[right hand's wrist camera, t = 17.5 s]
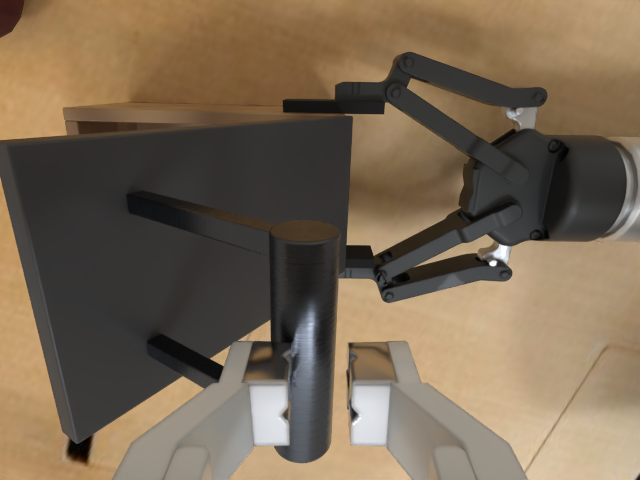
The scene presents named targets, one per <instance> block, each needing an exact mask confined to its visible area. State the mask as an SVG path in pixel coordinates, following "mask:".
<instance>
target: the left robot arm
mask: <svg viewBox="0 0 640 480" xmlns="http://www.w3.org/2000/svg"><path fill="white" fill-rule="evenodd" d="M410 78H413V79H416V80H419V81H421V82H424V83H427V84H430V85H433V86H436V87H439V88H441V89H444V90H447V91H450V92H453V93H456V94H458V95H461V96H464V97H467V98H470V99H473V100H475V101H478V102H481V103H484V104H488V105H493V106H500V107H501V115H502V116H503V117H504V118H506V119H510V120H511V121H512V122H513V123H514V129H512V130H510V131H509V132H507V133H506V134H504V135H503V136H501V137H499V138H498V139H496V140H495V141H493V142H492V143H490V144H489V143H488V142H486V141H485V140H483V139H481V138H480V137H478V136H476V135H475V134H473V133H472V132H470V131H469V130H467V129H466V128H464V127H463V126H461V125H460V124H459V123H457V122H456V121H454V120H453V119H451V118H450V117H448V116H447V115H445V114H444V113H442V112H441V111H439V110H438V109H437V108H435V107H434V106H432V105H431V104H429V103H428V102H426V101H425V100H423V99H422V98H420V97H419V96H417V95H416V94H415V93H413V92H412V91H410V90H409V89H407V85H408V83H409V81H410ZM546 99H547V92H546V90H545V89H543V88H540V87H512V88H510V87H507V86H505V85H502V84H499V83H496V82H493V81H491V80H488V79H485V78H482V77H480V76H477V75H474V74H471V73H468V72H466V71H463V70H460V69H457V68H455V67H452V66H449V65H446V64H443V63H441V62H438V61H435V60H432V59H429V58H427V57H424V56H421V55H418V54H416V53H413V52H406V53H403V54H400V55H398V56H397V57H395V59H394V60H393V65H392V68H391V70H390V73H389V75H388V77H387V78H386V79H385V80H384V81H382V82H341V83H339V84H337V85H335V100H323V99H285V100H283V112H297V113H338V114H384V107H385V102H388V103H390V104H391V105H393V106H394V107H396V108H397V109H399V110H400V111H402V112H403V113H405V114H406V115H408V116H409V117H411V118H412V119H414V120H415V121H417V122H418V123H420V124H421V125H423V126H424V127H426V128H427V129H429V130H430V131H432V132H433V133H435V134H436V135H438V136H439V137H441V138H442V139H444V140H445V141H447V142H448V143H450V144H451V145H453V146H454V147H456V148H457V149H458V150H460V151H461V152H463V153H464V154H466V155H467V156H469V157H470V159H469V161H468V163H467V164H464V169H463V179H464V186H463V189H462V191H461V194H460V198H459V206H460V207H461V208H460V209H458V210H456V211H454V212H452V213H451V214H449V215H448V216H447V217H446V219H444V220H442V221H441V222H439V223H437V224H435V225H433V226H431V227H429V228H427V229H425V230H423V231H421V232H419V233H417V234H415V235H413V236H411V237H410V238H408V239H406V240H404V241H402V242H400V243H398V244H396V245H394V246H392V247H390V248H388V249H386V250H384V251H382V252H380V253H379V254H377V255H375V256H373V253H372V249H371V246H366V245H346V261H345V272H343V273H342V274H340V275H339V278H362V279H372V280H374V281H375V282H376V283H377V285H378V288H379V291H380V294H381V298H382V300H383V301H384V302H387V303H391V302H395V301H399V300H403V299H407V298H411V297H415V296H419V295H423V294H427V293H431V292H435V291H439V290H443V289H447V288H451V287H455V286H459V285H463V284H467V283H471V282H475V281H479V280H487V281H507V280H509V279H510V278H511V276H512V270H511V269H510V268H509V267H508V266H507V264H508V260H509V256H510V252H511V248H512V246H514V245H517V244H519V243H521V242H524V241H528V240H535V241H574V242H588V241H593V240H594V241H599V242H640V137H624V136H609V137H606V138H604V137H601V136H577V135H543V134H541V133H540V132H538V131H537V130H535V123H536V115H537V108H538V107H539V106H541V105H543V104H544V103H545V101H546ZM486 234H487V235H488V236H490V237H491V238H492V239H494V243H493V244H492V245H491V246H490V247H487V248H480V249H479V250H478V253H472V254H465V255H460V256H456V257H452V258H448V259H444V260H441V261H437V262H433V263H429V264H425V265H421V266H417V267H414V266H416V265H418V264H420V263H422V262H424V261H426V260H428V259H430V258H432V257H434V256H436V255H438V254H440V253H442V252H444V251H446V250H448V249H450V248H452V247H454V246H456V245H458V244H460V243H468V242H471V241H474V240H476V239H478V238H480V237H482V236H484V235H486ZM412 267H413V268H412Z"/></svg>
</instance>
